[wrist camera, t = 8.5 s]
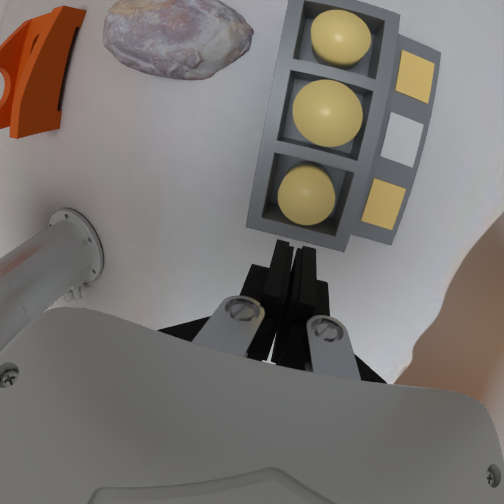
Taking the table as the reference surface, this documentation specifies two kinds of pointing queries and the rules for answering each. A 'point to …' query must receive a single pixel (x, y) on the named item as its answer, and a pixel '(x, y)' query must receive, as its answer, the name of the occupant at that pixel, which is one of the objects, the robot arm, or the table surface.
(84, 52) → the table surface
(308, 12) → the grey compartment tray
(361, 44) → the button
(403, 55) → the strip
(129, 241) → the table surface
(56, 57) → the tape dispenser
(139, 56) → the stone
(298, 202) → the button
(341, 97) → the button mid
